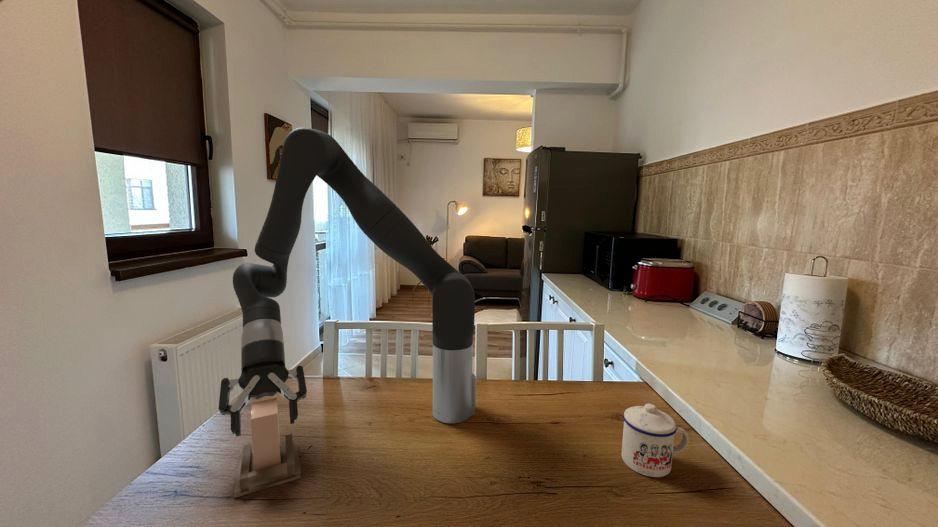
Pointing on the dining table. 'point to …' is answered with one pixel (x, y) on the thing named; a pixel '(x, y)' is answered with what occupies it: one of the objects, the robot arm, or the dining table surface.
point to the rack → (267, 469)
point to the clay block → (265, 434)
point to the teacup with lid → (650, 440)
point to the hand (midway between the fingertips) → (266, 428)
